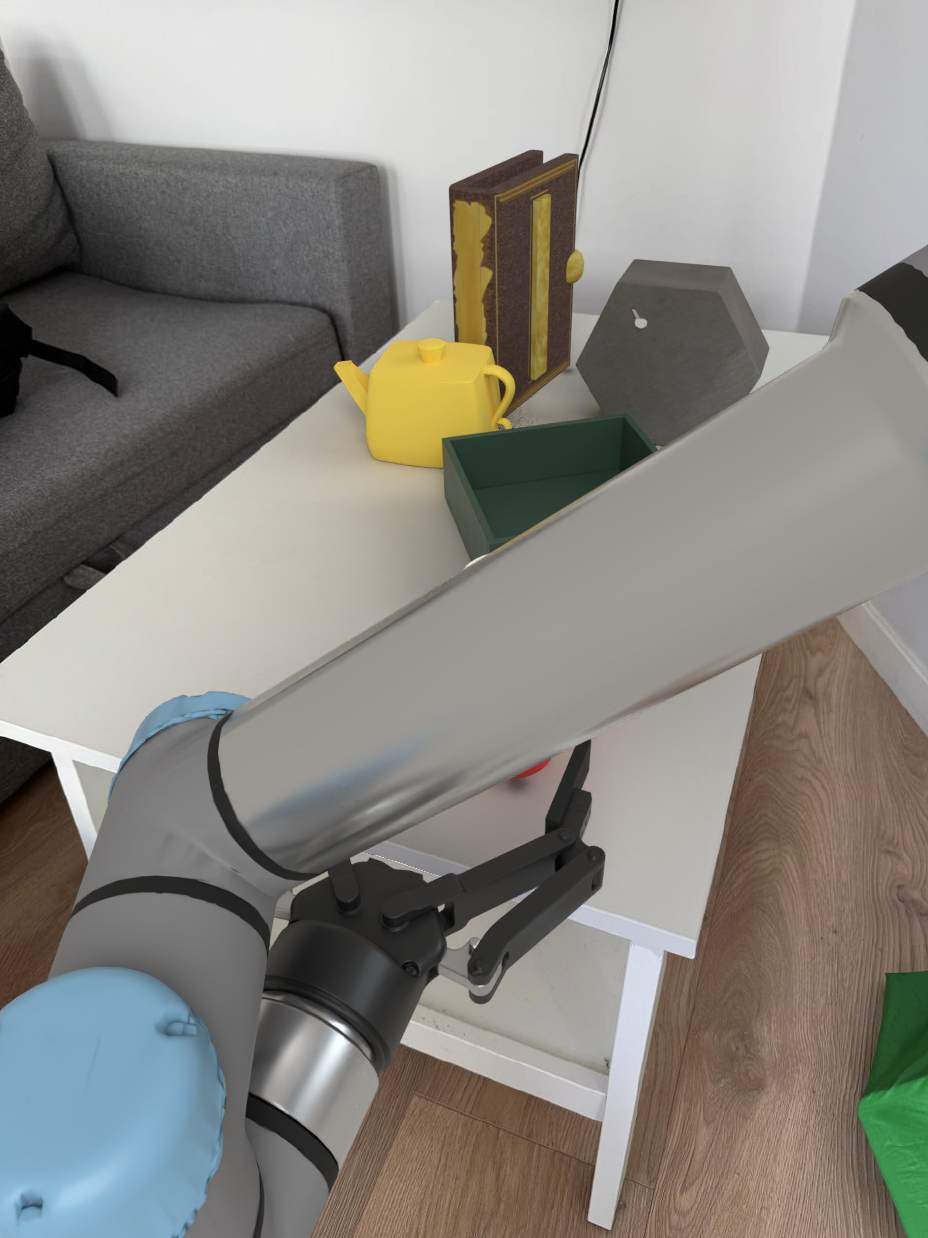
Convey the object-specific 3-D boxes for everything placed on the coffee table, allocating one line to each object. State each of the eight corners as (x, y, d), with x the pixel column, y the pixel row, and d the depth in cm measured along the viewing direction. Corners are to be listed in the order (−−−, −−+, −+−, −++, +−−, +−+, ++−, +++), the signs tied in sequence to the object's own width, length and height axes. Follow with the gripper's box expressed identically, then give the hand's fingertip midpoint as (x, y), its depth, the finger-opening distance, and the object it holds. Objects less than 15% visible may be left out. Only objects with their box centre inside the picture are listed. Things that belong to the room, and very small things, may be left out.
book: (505, 426, 106) (504, 196, 91) (443, 411, 110) (432, 187, 94) (587, 358, 121) (598, 149, 105) (530, 346, 124) (533, 143, 109)
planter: (791, 390, 100) (707, 217, 93) (783, 421, 95) (693, 239, 87) (654, 448, 110) (569, 296, 103) (640, 478, 105) (549, 320, 97)
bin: (698, 574, 83) (708, 510, 78) (490, 609, 80) (489, 544, 75) (622, 470, 97) (627, 412, 93) (444, 497, 94) (441, 437, 90)
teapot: (326, 460, 101) (312, 358, 94) (362, 410, 111) (352, 314, 103) (503, 477, 97) (502, 371, 90) (525, 424, 106) (526, 325, 99)
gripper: (113, 989, 48) (312, 719, 63) (570, 1179, 40) (671, 819, 56) (70, 906, 43) (296, 636, 59) (578, 1103, 36) (686, 733, 51)
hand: (479, 725), depth 57 cm, fingers open, 13 cm apart
